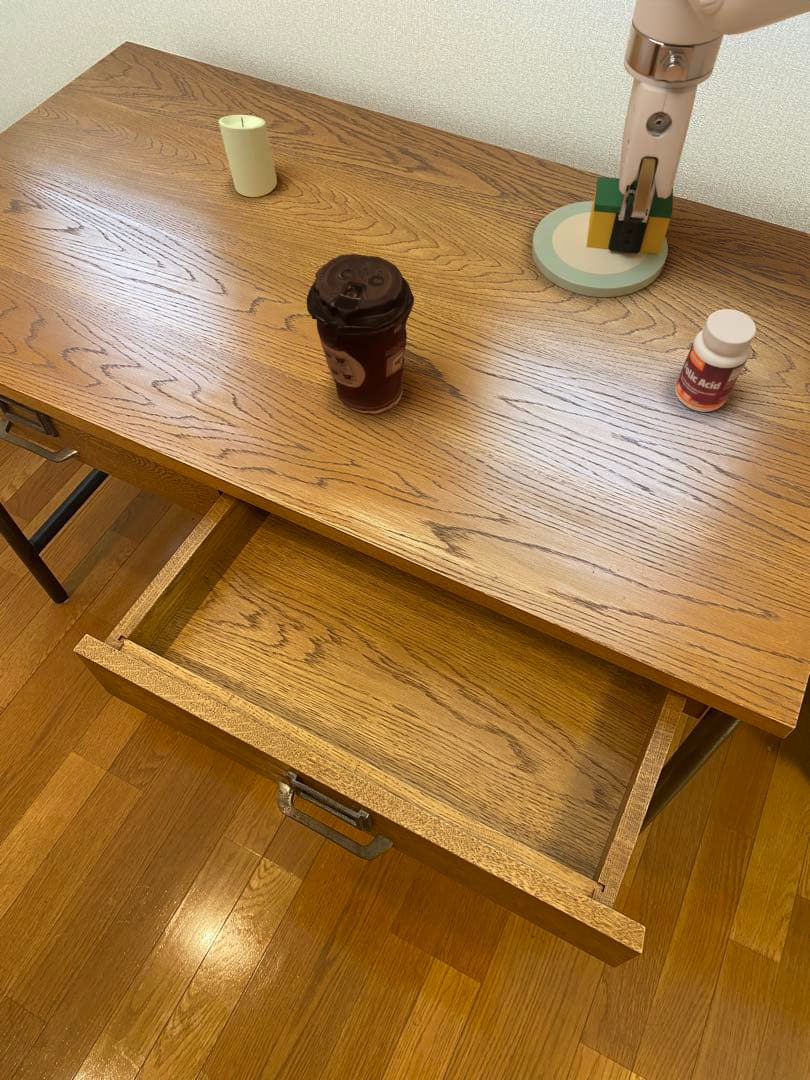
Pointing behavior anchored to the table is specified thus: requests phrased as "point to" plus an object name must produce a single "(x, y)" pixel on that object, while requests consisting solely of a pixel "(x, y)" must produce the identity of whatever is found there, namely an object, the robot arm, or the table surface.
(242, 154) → the candle
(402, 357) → the coffee cup
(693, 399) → the pill bottle
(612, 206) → the sponge
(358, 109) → the table surface
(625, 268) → the plate
